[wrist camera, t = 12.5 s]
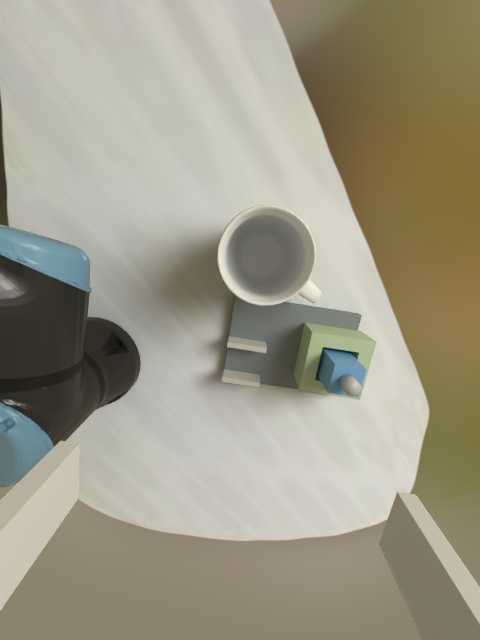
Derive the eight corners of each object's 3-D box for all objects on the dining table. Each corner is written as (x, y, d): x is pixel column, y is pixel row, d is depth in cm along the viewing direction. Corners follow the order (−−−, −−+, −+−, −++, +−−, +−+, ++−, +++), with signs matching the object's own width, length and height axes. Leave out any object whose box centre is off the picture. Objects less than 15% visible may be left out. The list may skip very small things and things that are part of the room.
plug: (310, 362, 45) (332, 400, 33) (316, 339, 44) (340, 370, 33) (334, 366, 45) (364, 405, 33) (340, 343, 44) (373, 375, 33)
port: (293, 374, 46) (299, 390, 40) (304, 322, 44) (312, 332, 38) (346, 382, 46) (359, 399, 40) (360, 331, 44) (376, 341, 38)
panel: (223, 373, 48) (221, 385, 43) (235, 294, 44) (234, 298, 40) (337, 391, 48) (346, 405, 43) (357, 313, 44) (369, 320, 40)
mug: (330, 262, 43) (365, 266, 30) (287, 318, 45) (302, 344, 32) (253, 203, 41) (255, 181, 28) (211, 264, 43) (196, 269, 31)
